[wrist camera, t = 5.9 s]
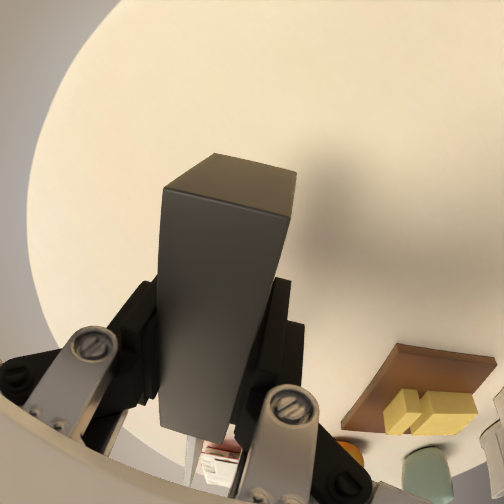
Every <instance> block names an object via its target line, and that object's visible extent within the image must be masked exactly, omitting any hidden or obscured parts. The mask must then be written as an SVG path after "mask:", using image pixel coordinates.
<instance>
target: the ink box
mask: <svg viewBox="0 0 504 504" xmlns="http://www.w3.org/2000/svg"><path fill="white" fill-rule="evenodd" d="M239 456H240V454H239V453H234V452H228V451H223V450H218V449H213V448H208V447H207V448H206V451H205V452H201V454H200V458H201V462H202V463H201V466H202V470H203V473H204V477H205V480H206V483H208V484H213V485H217V486H222V487H228V488H230V487H231V483H232V480H233V477H234V473H235V470H236V466H237V463H238V459H239Z"/></svg>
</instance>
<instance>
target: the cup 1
mask: <svg viewBox="0 0 504 504" xmlns="http://www.w3.org/2000/svg"><path fill="white" fill-rule="evenodd" d="M402 490H403V491H406V492H408V493H411V494H413V495H416V496H418V497H421V498H424V499H426V500H429V501H430V502H432V503H433V504H447V503H448V502H450V501H451V500H452V499H453V496H454V495H453V486H452V480H451V474H450V470H449V466H448V462H447V460H446V457H445V455H444V454H443V452H442V451H441V450H440V449H438V448H435V447H428V448H424V449H421V450H418V451H416V452H414V453H412V454H411V455H409V456H408V457H407V459H406V460H405V462H404V464H403V468H402Z"/></svg>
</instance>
